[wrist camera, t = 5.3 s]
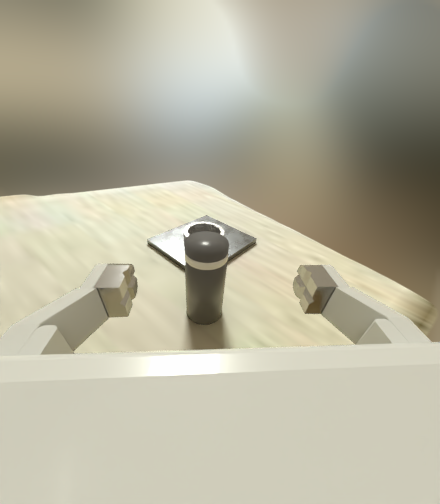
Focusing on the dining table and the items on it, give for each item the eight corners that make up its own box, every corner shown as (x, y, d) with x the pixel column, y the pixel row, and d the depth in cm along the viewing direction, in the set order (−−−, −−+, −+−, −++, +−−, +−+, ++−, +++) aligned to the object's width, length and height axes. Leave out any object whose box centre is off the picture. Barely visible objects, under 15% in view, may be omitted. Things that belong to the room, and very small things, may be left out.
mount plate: (200, 280, 36) (200, 267, 34) (147, 243, 44) (145, 231, 42) (255, 242, 47) (258, 231, 45) (206, 218, 55) (206, 208, 53)
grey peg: (204, 331, 28) (207, 262, 21) (179, 309, 30) (174, 241, 23) (228, 309, 31) (238, 243, 24) (204, 291, 34) (206, 227, 27)
